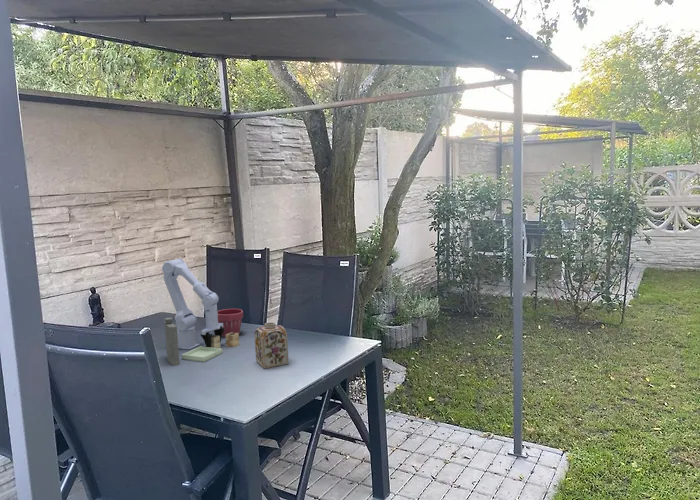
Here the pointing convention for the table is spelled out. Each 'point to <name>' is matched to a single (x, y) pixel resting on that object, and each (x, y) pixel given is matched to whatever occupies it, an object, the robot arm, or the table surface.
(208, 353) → the tray
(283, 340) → the decorative jar
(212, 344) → the birch block
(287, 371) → the table surface
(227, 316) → the plant pot
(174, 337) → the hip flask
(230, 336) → the oak block
